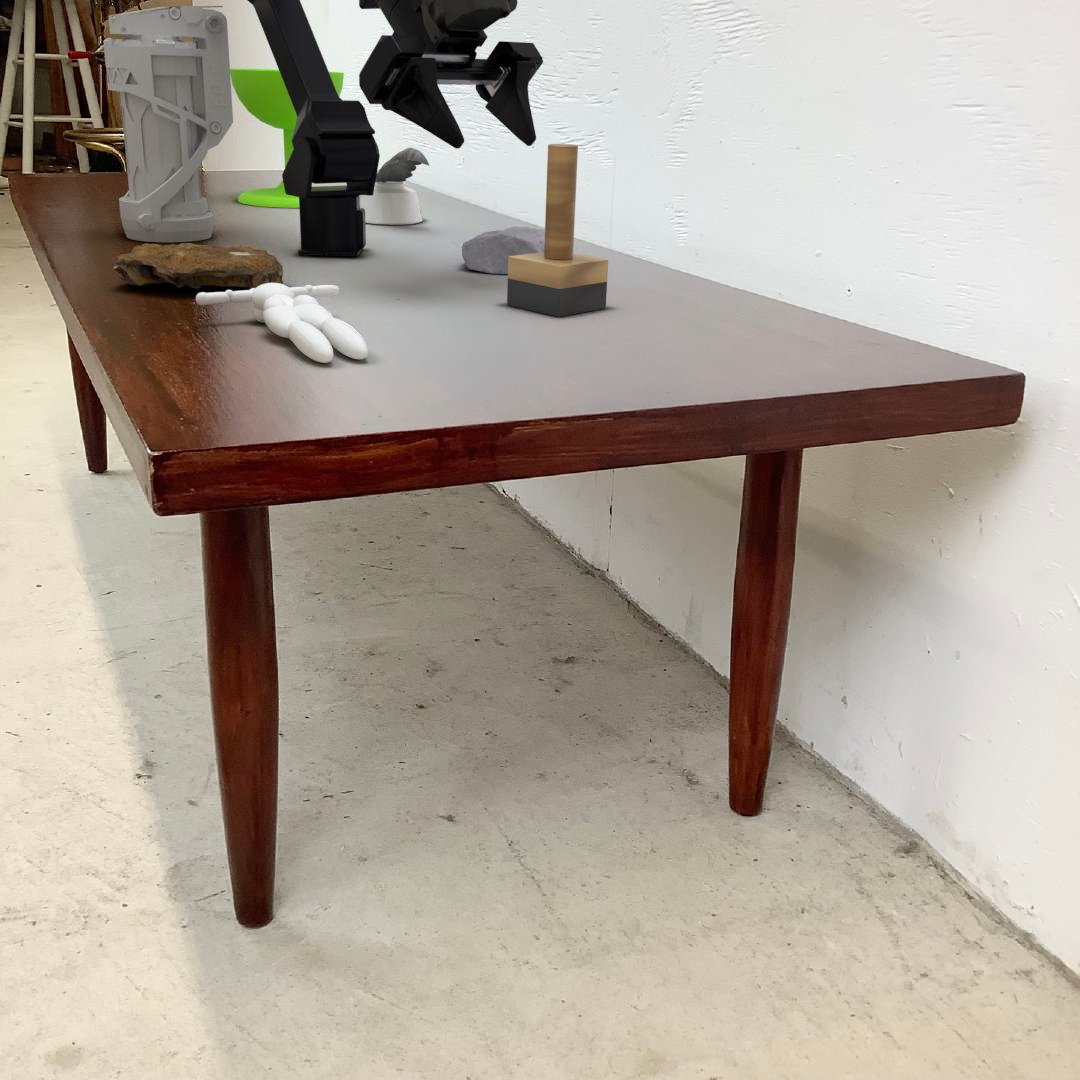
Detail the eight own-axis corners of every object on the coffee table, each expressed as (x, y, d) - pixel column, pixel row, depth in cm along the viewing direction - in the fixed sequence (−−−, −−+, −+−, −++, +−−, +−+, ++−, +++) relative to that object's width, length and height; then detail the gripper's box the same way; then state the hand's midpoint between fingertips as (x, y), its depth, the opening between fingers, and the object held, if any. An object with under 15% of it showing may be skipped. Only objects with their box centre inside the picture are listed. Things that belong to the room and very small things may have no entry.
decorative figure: (422, 336, 85) (332, 268, 98) (262, 351, 79) (189, 276, 93) (420, 380, 87) (332, 307, 100) (263, 398, 81) (191, 318, 94)
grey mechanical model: (135, 244, 130) (112, -2, 120) (113, 231, 138) (89, 0, 128) (248, 239, 136) (234, 5, 126) (220, 227, 144) (205, 7, 135)
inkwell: (405, 215, 162) (404, 139, 158) (466, 232, 148) (467, 150, 144) (343, 217, 157) (341, 139, 154) (400, 235, 143) (399, 151, 140)
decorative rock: (124, 306, 100) (294, 303, 107) (121, 259, 99) (294, 259, 105) (106, 276, 110) (264, 275, 116) (103, 232, 108) (264, 234, 114)
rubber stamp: (558, 317, 101) (565, 148, 96) (506, 305, 105) (510, 143, 100) (605, 308, 106) (615, 146, 100) (554, 297, 110) (560, 141, 104)
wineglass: (337, 209, 165) (333, 73, 158) (225, 205, 165) (216, 69, 158) (355, 197, 180) (352, 72, 173) (252, 193, 180) (245, 68, 173)
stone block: (458, 287, 122) (550, 275, 119) (450, 241, 120) (543, 227, 118) (486, 273, 132) (571, 262, 130) (479, 231, 131) (565, 218, 129)
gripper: (377, -72, 96) (467, 77, 93) (532, -51, 109) (615, 80, 106) (322, 31, 104) (403, 170, 101) (472, 39, 116) (548, 163, 114)
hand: (497, 143), depth 105 cm, fingers open, 9 cm apart
